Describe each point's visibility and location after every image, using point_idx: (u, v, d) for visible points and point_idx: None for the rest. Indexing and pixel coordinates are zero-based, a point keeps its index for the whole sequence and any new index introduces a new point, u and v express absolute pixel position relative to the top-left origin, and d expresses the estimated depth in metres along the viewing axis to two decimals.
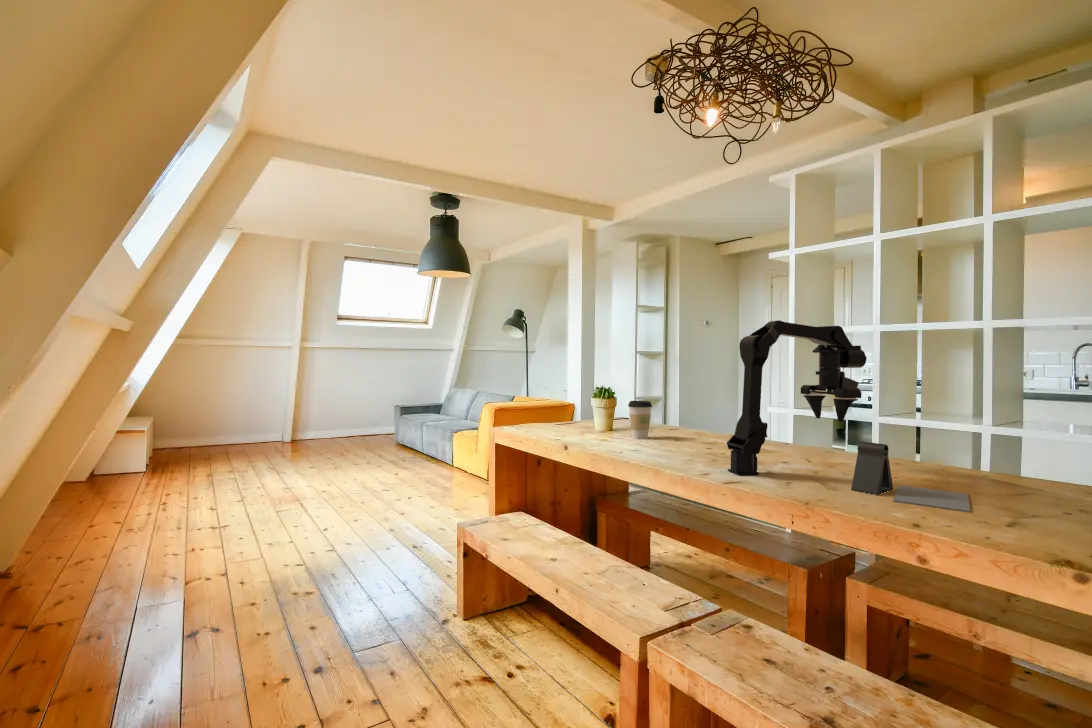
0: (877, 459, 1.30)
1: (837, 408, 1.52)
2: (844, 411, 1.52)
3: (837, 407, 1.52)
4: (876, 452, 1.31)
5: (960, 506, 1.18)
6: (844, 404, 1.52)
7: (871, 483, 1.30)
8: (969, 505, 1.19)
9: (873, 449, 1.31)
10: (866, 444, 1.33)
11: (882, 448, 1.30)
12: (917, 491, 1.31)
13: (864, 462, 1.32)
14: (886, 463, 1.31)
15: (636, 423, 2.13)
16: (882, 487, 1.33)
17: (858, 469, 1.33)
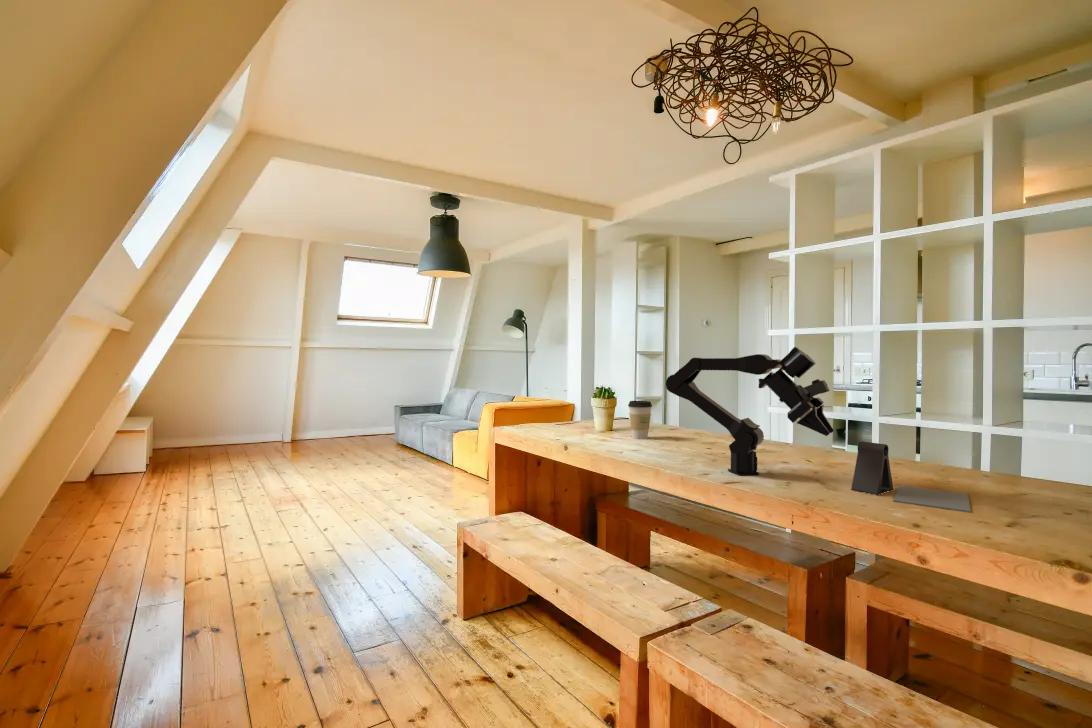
0: (877, 459, 1.30)
1: None
2: (818, 424, 1.36)
3: None
4: (876, 452, 1.31)
5: (960, 506, 1.18)
6: (812, 419, 1.37)
7: (871, 483, 1.30)
8: (969, 505, 1.19)
9: (873, 449, 1.31)
10: (866, 444, 1.33)
11: (882, 448, 1.30)
12: (917, 491, 1.31)
13: (864, 462, 1.32)
14: (886, 463, 1.31)
15: (636, 423, 2.13)
16: (882, 487, 1.33)
17: (858, 469, 1.33)
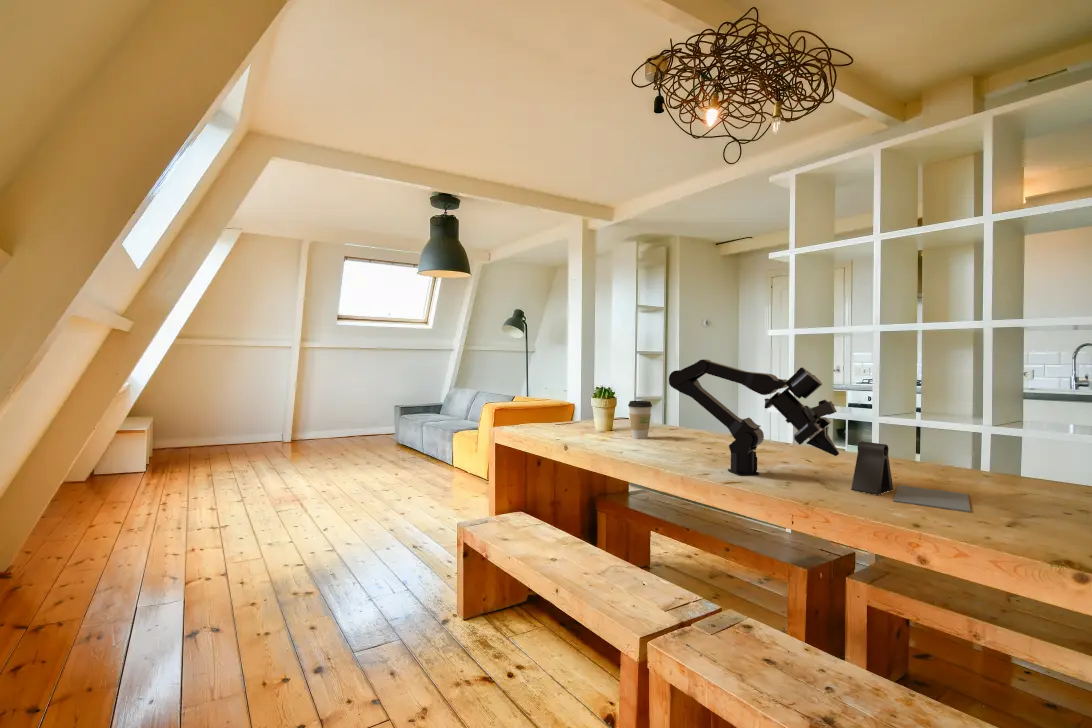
0: (877, 459, 1.30)
1: None
2: (827, 445, 1.38)
3: None
4: (876, 452, 1.31)
5: (960, 506, 1.18)
6: (821, 439, 1.39)
7: (871, 483, 1.30)
8: (969, 505, 1.19)
9: (873, 449, 1.31)
10: (866, 444, 1.33)
11: (882, 448, 1.30)
12: (917, 491, 1.31)
13: (864, 462, 1.32)
14: (886, 463, 1.31)
15: (636, 423, 2.13)
16: (882, 487, 1.33)
17: (858, 469, 1.33)
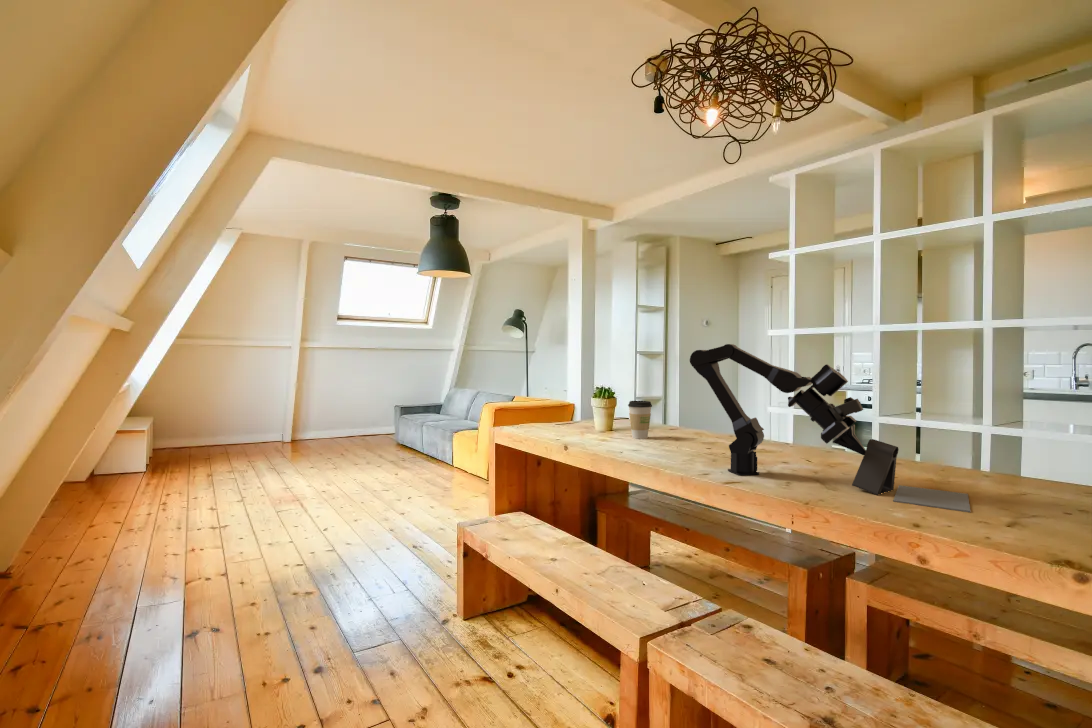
0: (885, 460, 1.29)
1: None
2: (854, 444, 1.34)
3: None
4: (885, 453, 1.29)
5: (960, 506, 1.18)
6: (848, 438, 1.35)
7: (873, 482, 1.29)
8: (969, 505, 1.19)
9: (882, 449, 1.30)
10: (877, 443, 1.31)
11: (892, 450, 1.28)
12: (917, 491, 1.31)
13: (871, 460, 1.31)
14: (893, 464, 1.30)
15: (636, 423, 2.13)
16: (883, 486, 1.33)
17: (863, 466, 1.32)
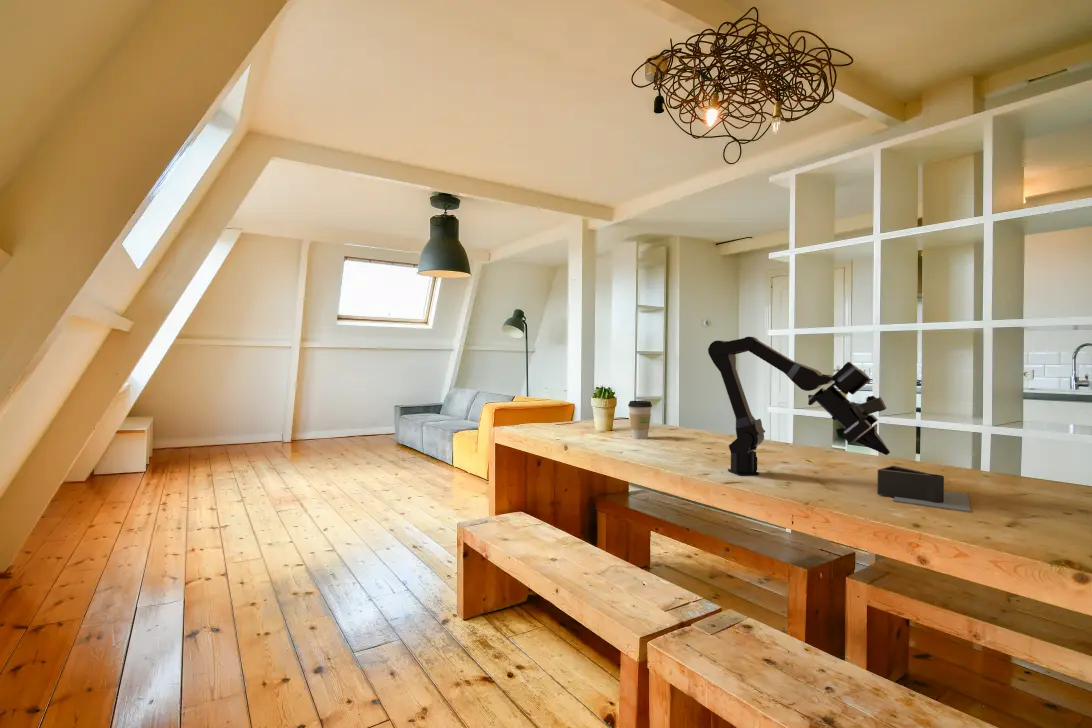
0: (921, 495, 1.23)
1: None
2: (877, 443, 1.31)
3: None
4: (930, 495, 1.22)
5: (960, 506, 1.18)
6: (871, 437, 1.32)
7: (889, 489, 1.26)
8: (969, 505, 1.19)
9: (933, 492, 1.21)
10: (939, 485, 1.20)
11: (936, 501, 1.21)
12: None
13: (915, 482, 1.23)
14: None
15: (636, 423, 2.13)
16: None
17: (904, 476, 1.25)
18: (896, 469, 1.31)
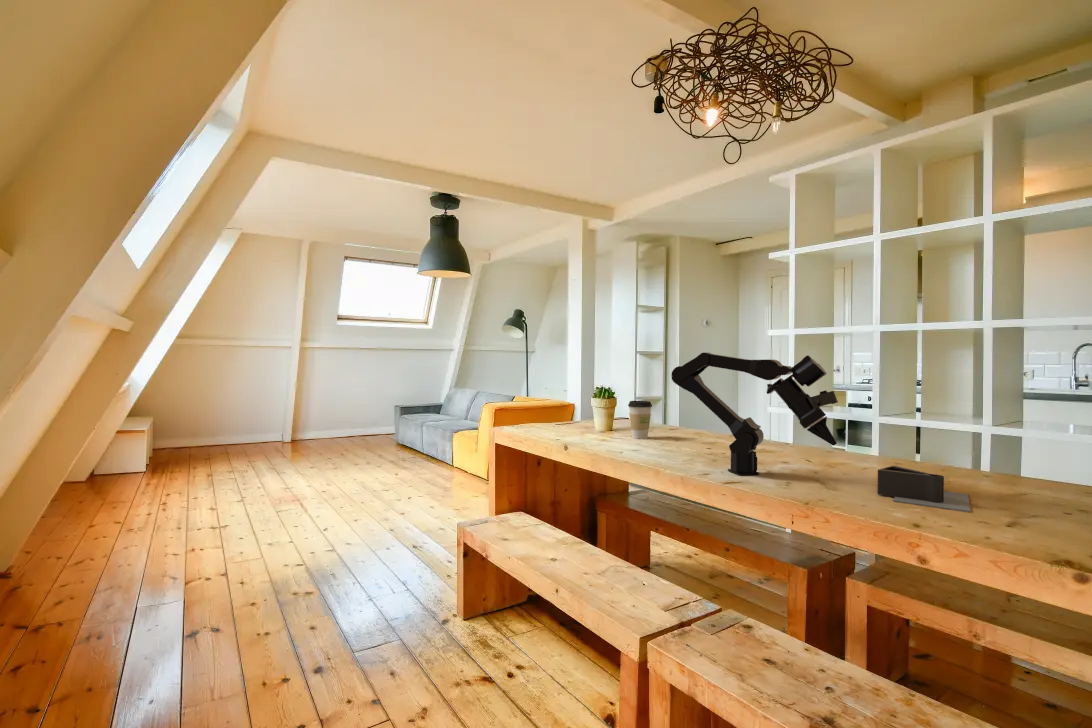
0: (921, 495, 1.23)
1: None
2: (827, 433, 1.38)
3: (816, 435, 1.40)
4: (930, 495, 1.22)
5: (960, 506, 1.18)
6: (821, 427, 1.39)
7: (889, 489, 1.26)
8: (969, 505, 1.19)
9: (933, 492, 1.21)
10: (939, 485, 1.20)
11: (936, 501, 1.21)
12: None
13: (915, 482, 1.23)
14: None
15: (636, 423, 2.13)
16: None
17: (904, 476, 1.25)
18: (896, 469, 1.31)
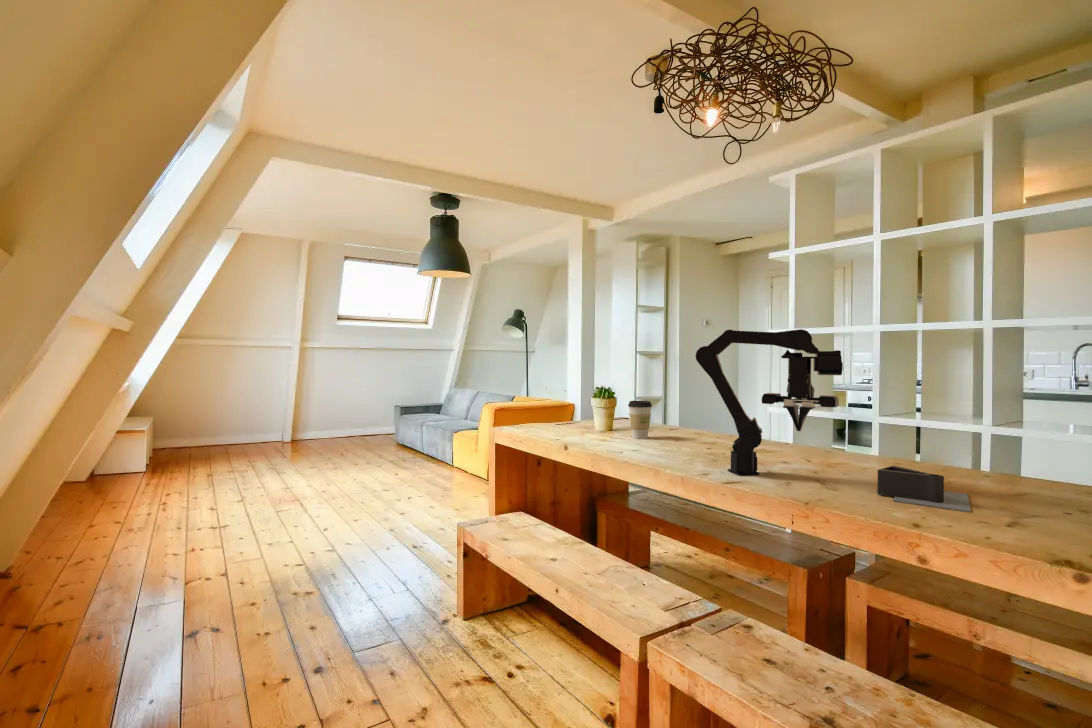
0: (921, 495, 1.23)
1: (802, 417, 1.44)
2: (804, 419, 1.46)
3: (802, 416, 1.44)
4: (930, 495, 1.22)
5: (960, 506, 1.18)
6: None
7: (889, 489, 1.26)
8: (969, 505, 1.19)
9: (933, 492, 1.21)
10: (939, 485, 1.20)
11: (936, 501, 1.21)
12: None
13: (915, 482, 1.23)
14: None
15: (636, 423, 2.13)
16: None
17: (904, 476, 1.25)
18: (896, 469, 1.31)
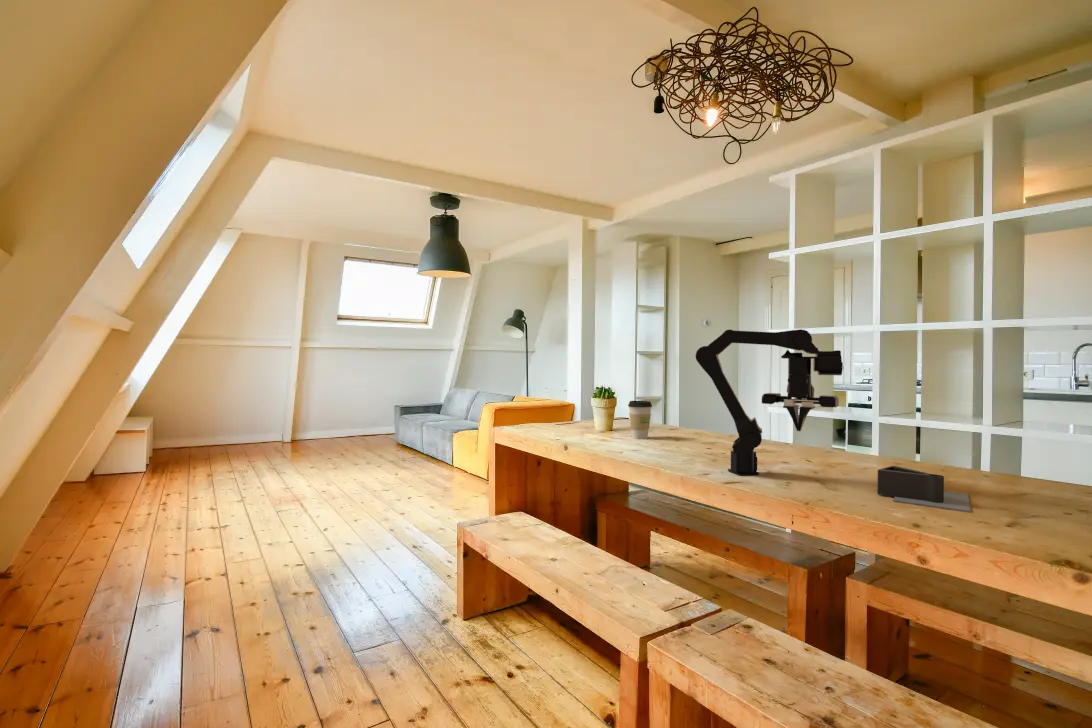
0: (921, 495, 1.23)
1: (802, 417, 1.44)
2: (804, 419, 1.46)
3: (802, 416, 1.44)
4: (930, 495, 1.22)
5: (960, 506, 1.18)
6: None
7: (889, 489, 1.26)
8: (969, 505, 1.19)
9: (933, 492, 1.21)
10: (939, 485, 1.20)
11: (936, 501, 1.21)
12: None
13: (915, 482, 1.23)
14: None
15: (636, 423, 2.13)
16: None
17: (904, 476, 1.25)
18: (896, 469, 1.31)
